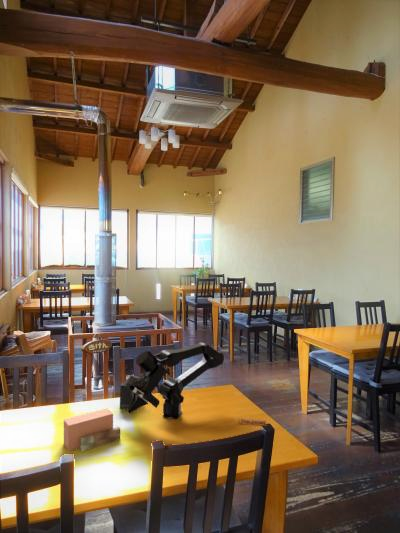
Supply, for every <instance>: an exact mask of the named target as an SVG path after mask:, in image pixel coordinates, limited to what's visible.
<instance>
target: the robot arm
mask: <svg viewBox="0 0 400 533" xmlns="http://www.w3.org/2000/svg"><path fill="white" fill-rule="evenodd" d="M199 355H202V359H201V360H200V361H199V362H197V363H196V364H194V365H193V366H191V367H190V368H189V369H187V370H186V371H185V372H183V373H182V374H181V375H179V376H177V377H176V378H174V377H172V376H171V372H170V368H173V367H174V366H176V365H179V364H180V363H181V362H182V361H184V360H186V359H189V358H193V357H195V356H199ZM135 360H136V361H135V364H136V365H138V366H139V367H140V368H141V369H142V370H143V371H144V372H146V373H147V374H144V375H142V377H141V376H137V375H133V374H130V375H129V376H128V378H129V380H128V382H127V384H126V386H127V387H129V388H130V389H131V390H132V391H131V393H132V399H131V402H130V405H129V408H128V409H126V410H127V413H128V414H132V413H133V412H135V411H137V410H138V409H141V408H143V407H145V405H146V406H147V405H149V404H151V405H152V407H154V408H156V409H157V408H158V406H159V404H160V399H159V398H157V397H156V396H155V395H154V394H152V393H153V391H154V390H155V389H158V388H159V391H158V392H159V395H160V396H162V399H164V403H163V404H162V407H163V408H162V414H163V415H162V418H166V419H167V418H168V419H174V420H175V419H176V420H178V419H179V417H180V416H181V415H182V413H183V412H182V411H181V409H182V408H181V407H182V403H184V399H185V397H184V396H183V395H182V392H183V390H184V388H185V387H186V386H188V385H189V384H191V383H192V382H193V381H195V380H196V379H197V378H199V377H200V376H201V375H203V374H204V373H205V372H206V371H208V370H211V369H215V368H217V367H219V366H221V365H223V363H224V360H225V356H224V354H223V353H222V352H220V351H218V350H216V349H214V348H213V347H212V346H210V345H209V344H208V343H206V342H203V341H202V342H199V343H195V344H192V345H189V346H185V347H182V348H179V349H173V348H172V349H171V348H169V349H163V350H161V351H160V352H158V353H157V354H153V353H152V352H151V350H148V349H146V350H145V351H144V352H141V353H140V354H139V355H138V356H137V358H136V359H135ZM158 363H159V364H158ZM165 366H166V367H165ZM165 375H167V376H169V377H168V378H166V380H163V381H162V379H163V378H164V376H165ZM161 381H162V383H161V384H160V385H159V383H160V382H161Z"/></svg>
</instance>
